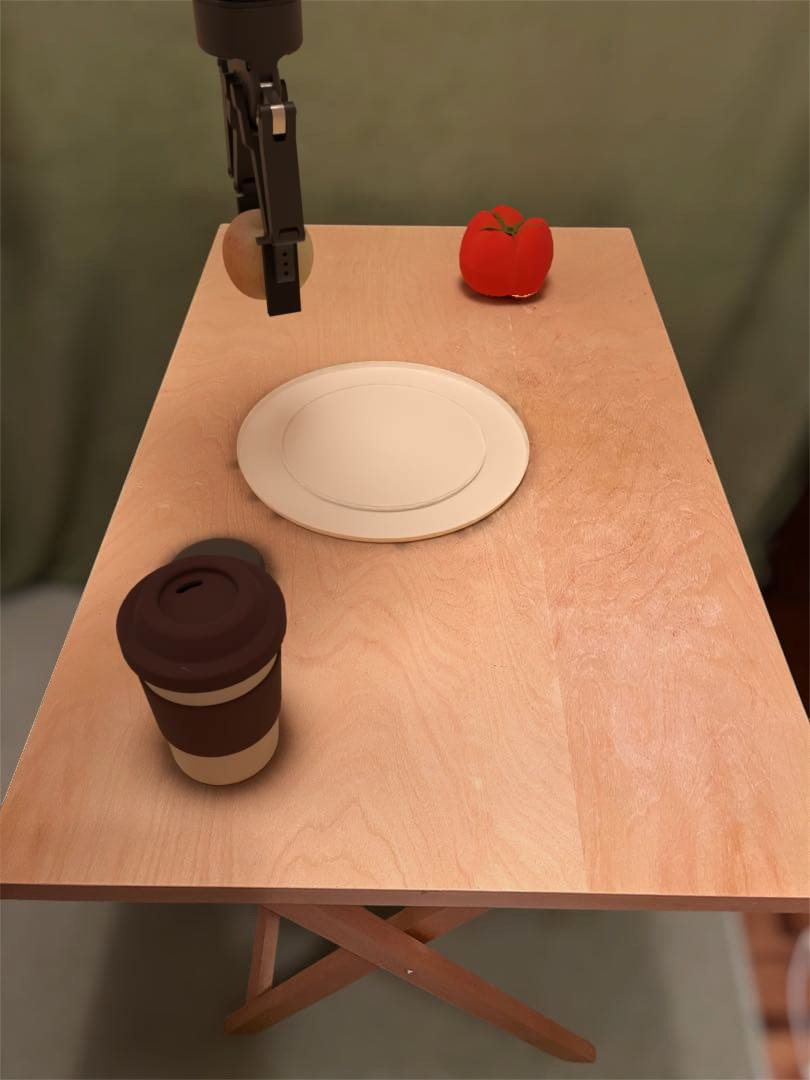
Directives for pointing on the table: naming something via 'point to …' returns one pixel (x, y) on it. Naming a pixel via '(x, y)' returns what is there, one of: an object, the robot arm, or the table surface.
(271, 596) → the coffee cup
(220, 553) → the slate coaster
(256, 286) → the fruit
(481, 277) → the tomato
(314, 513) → the plate
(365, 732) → the table surface
